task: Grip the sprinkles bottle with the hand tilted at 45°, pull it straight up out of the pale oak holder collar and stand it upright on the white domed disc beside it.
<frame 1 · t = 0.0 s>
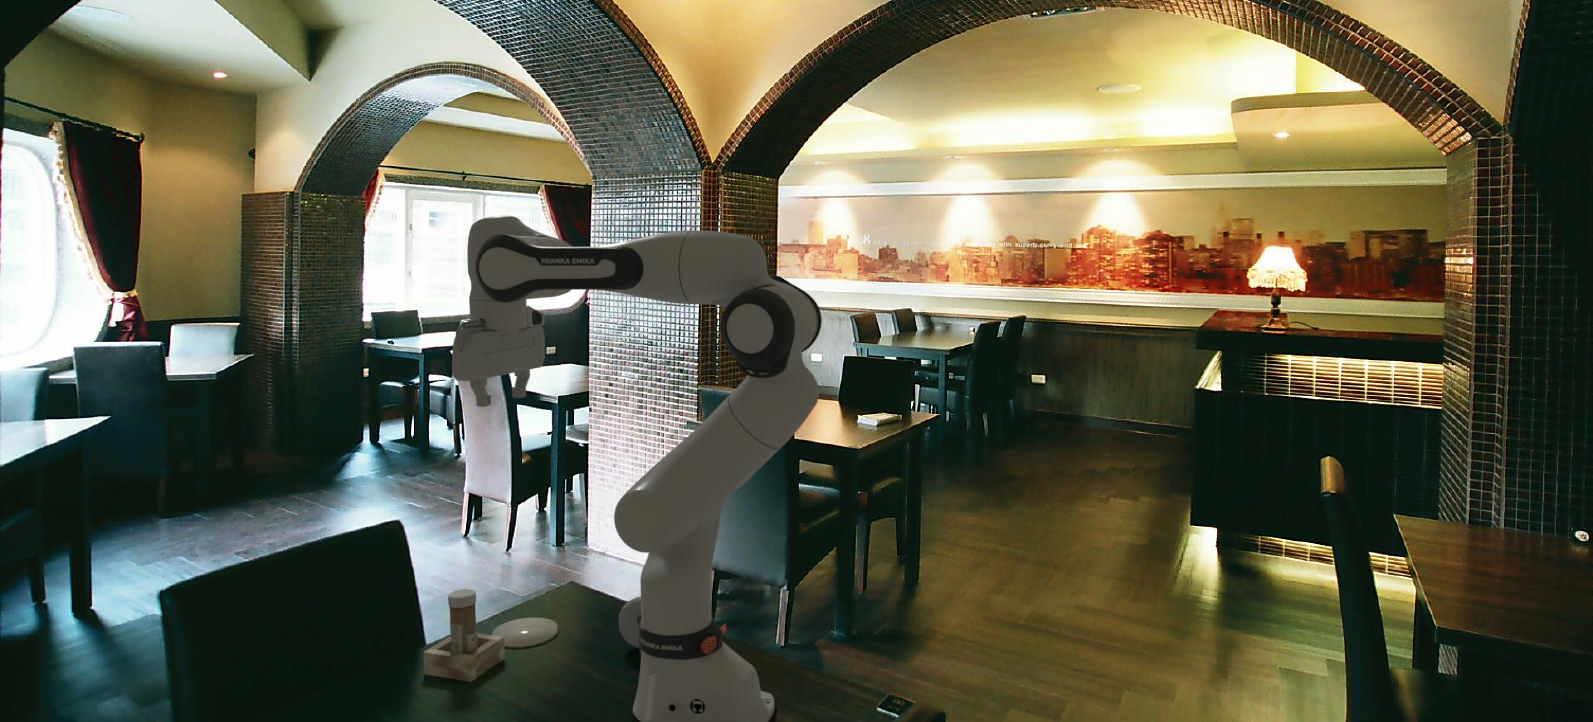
hand: (502, 401, 149), 48 cm above the table, tool pointing down, fingers open, 8 cm apart
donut: (645, 649, 167), on the table
white domed disc: (525, 634, 174), on the table
sprinkles bottle: (465, 667, 160), resting in holder collar
holder collar: (465, 666, 160), on the table
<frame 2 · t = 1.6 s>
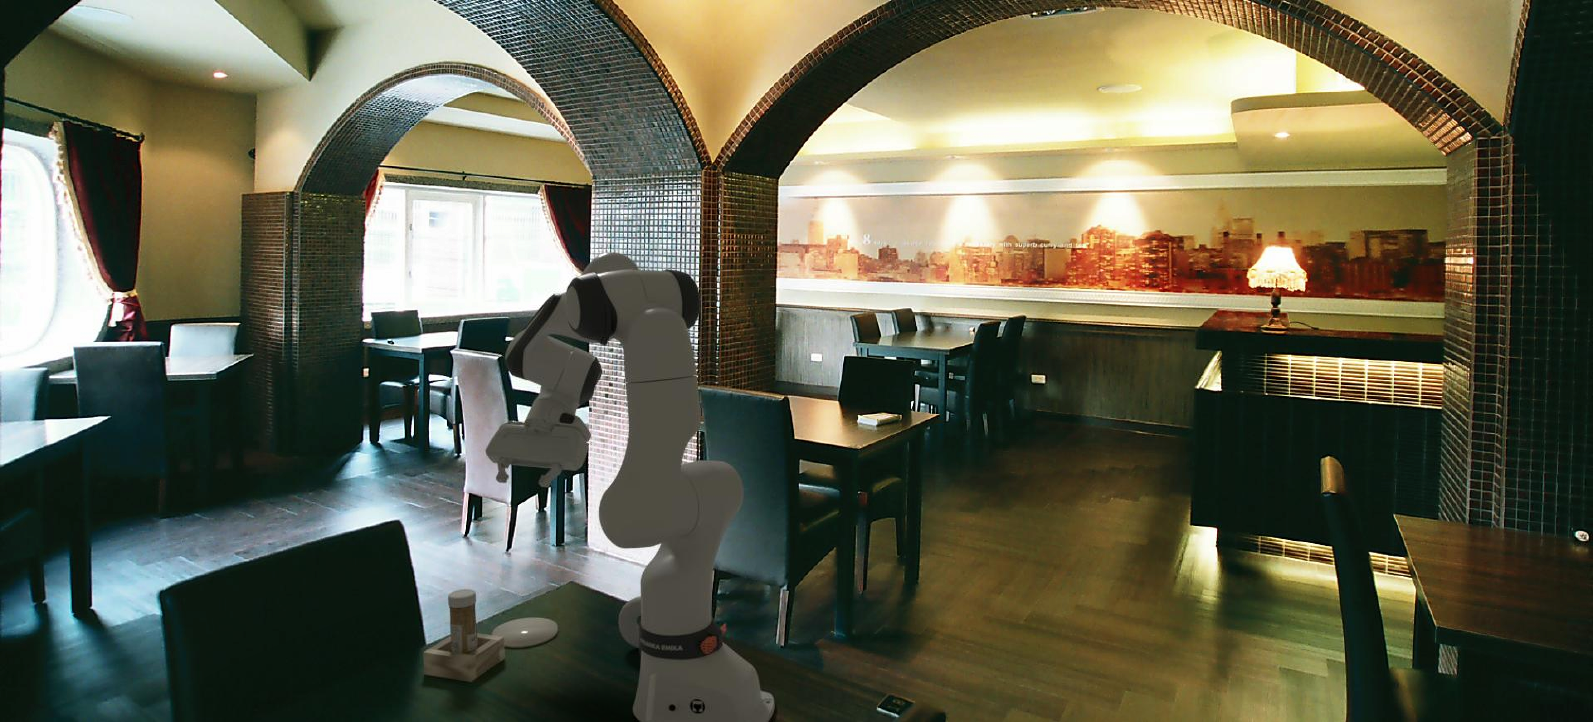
hand: (521, 483, 175), 28 cm above the table, tool tilted 45°, fingers open, 8 cm apart
nothing on the table moved.
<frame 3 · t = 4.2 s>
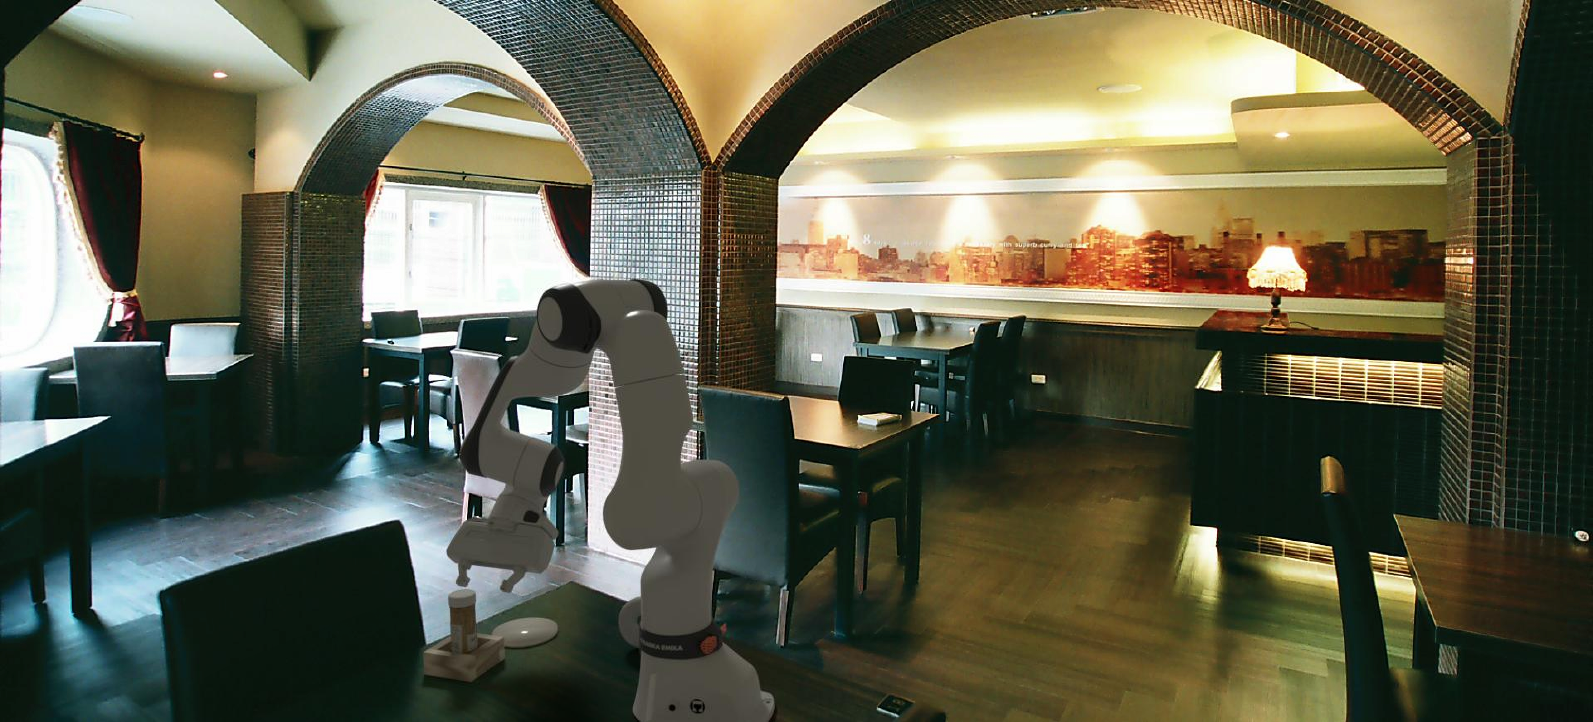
hand: (482, 588, 164), 12 cm above the table, tool tilted 45°, fingers open, 8 cm apart
nothing on the table moved.
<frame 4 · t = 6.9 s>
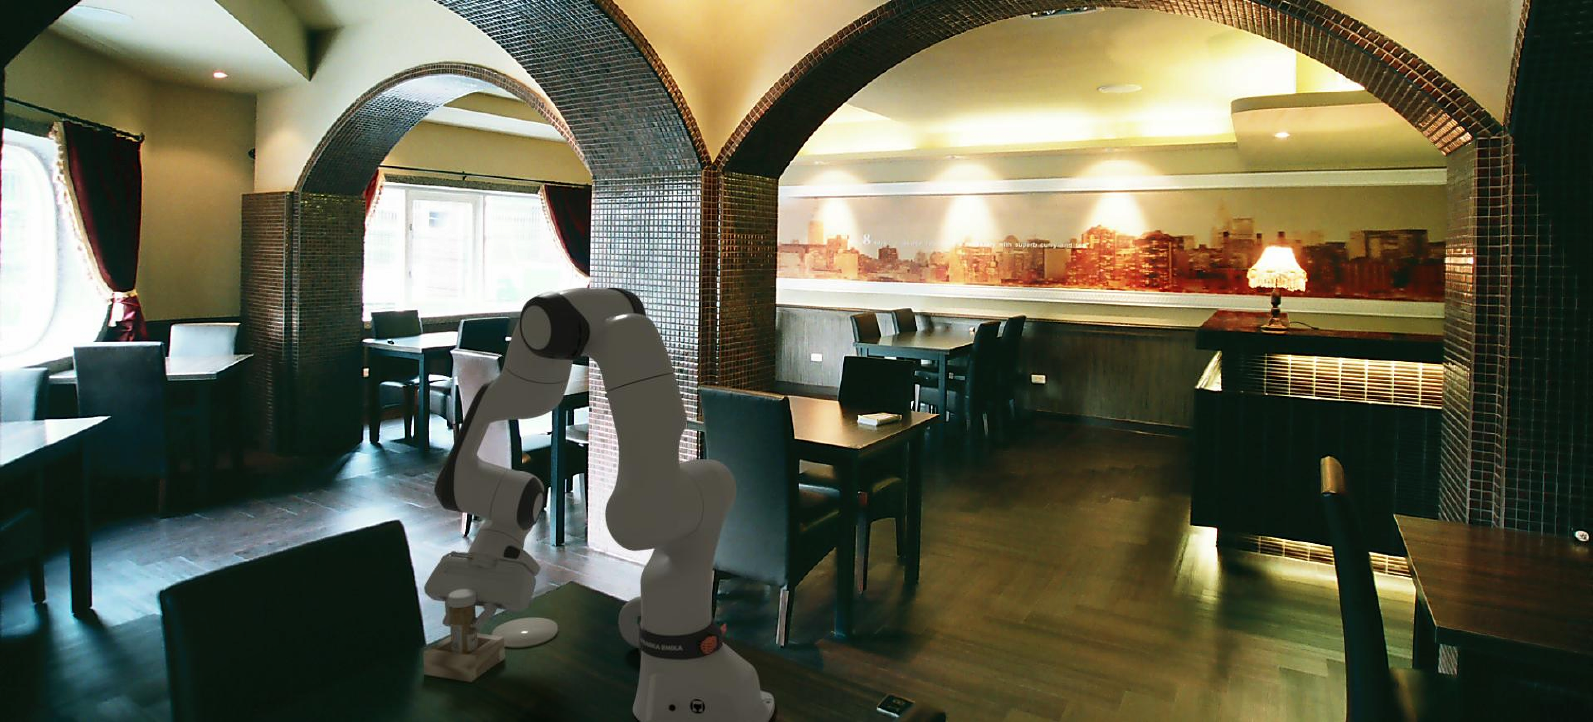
hand: (461, 627, 159), 7 cm above the table, tool tilted 45°, fingers closed on sprinkles bottle, 4 cm apart
sprinkles bottle: (465, 667, 160), resting in holder collar, touching gripper
everything else where it was.
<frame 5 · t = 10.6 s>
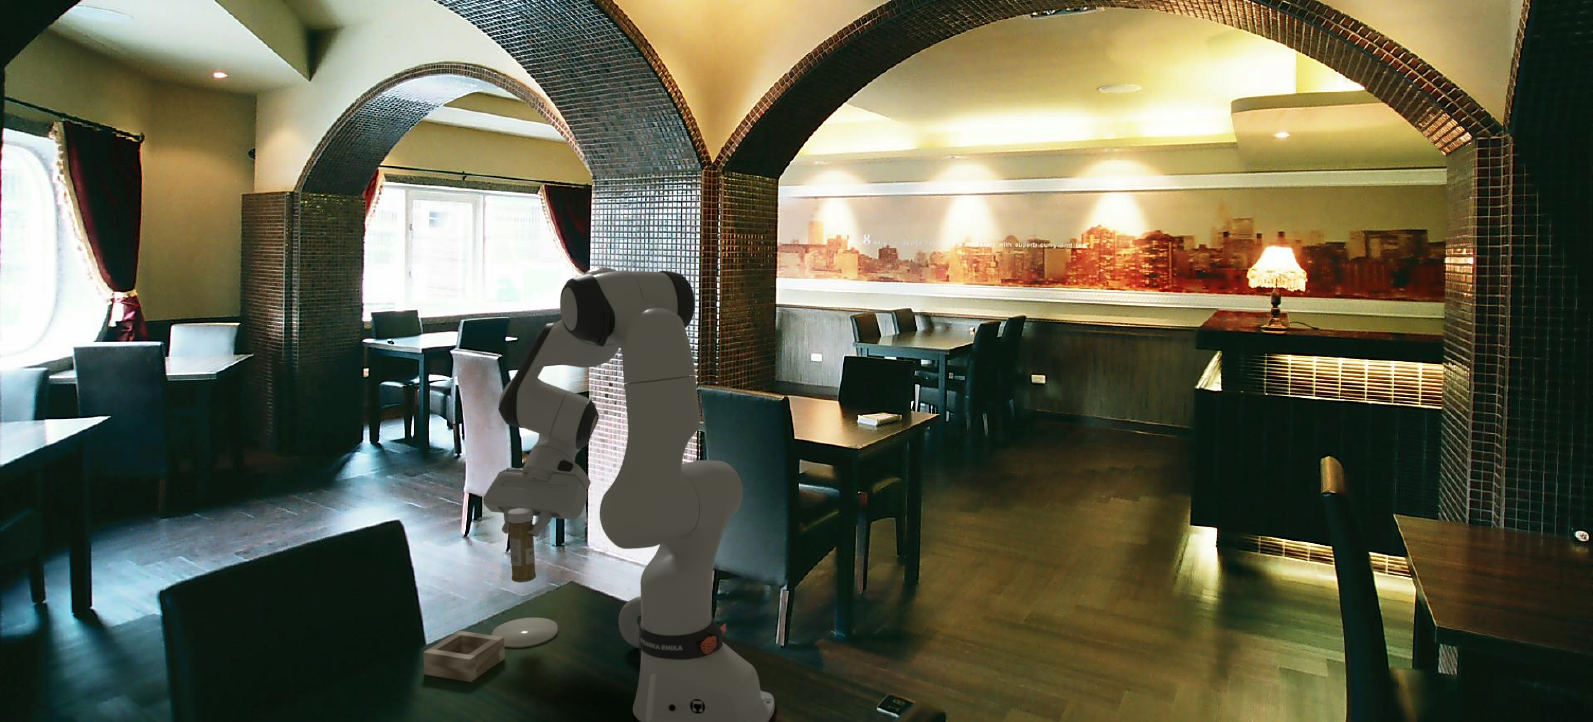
hand: (519, 533, 171), 20 cm above the table, tool tilted 45°, fingers closed on sprinkles bottle, 4 cm apart
sprinkles bottle: (523, 580, 173), point 11 cm above the table, touching gripper
everything else where it was.
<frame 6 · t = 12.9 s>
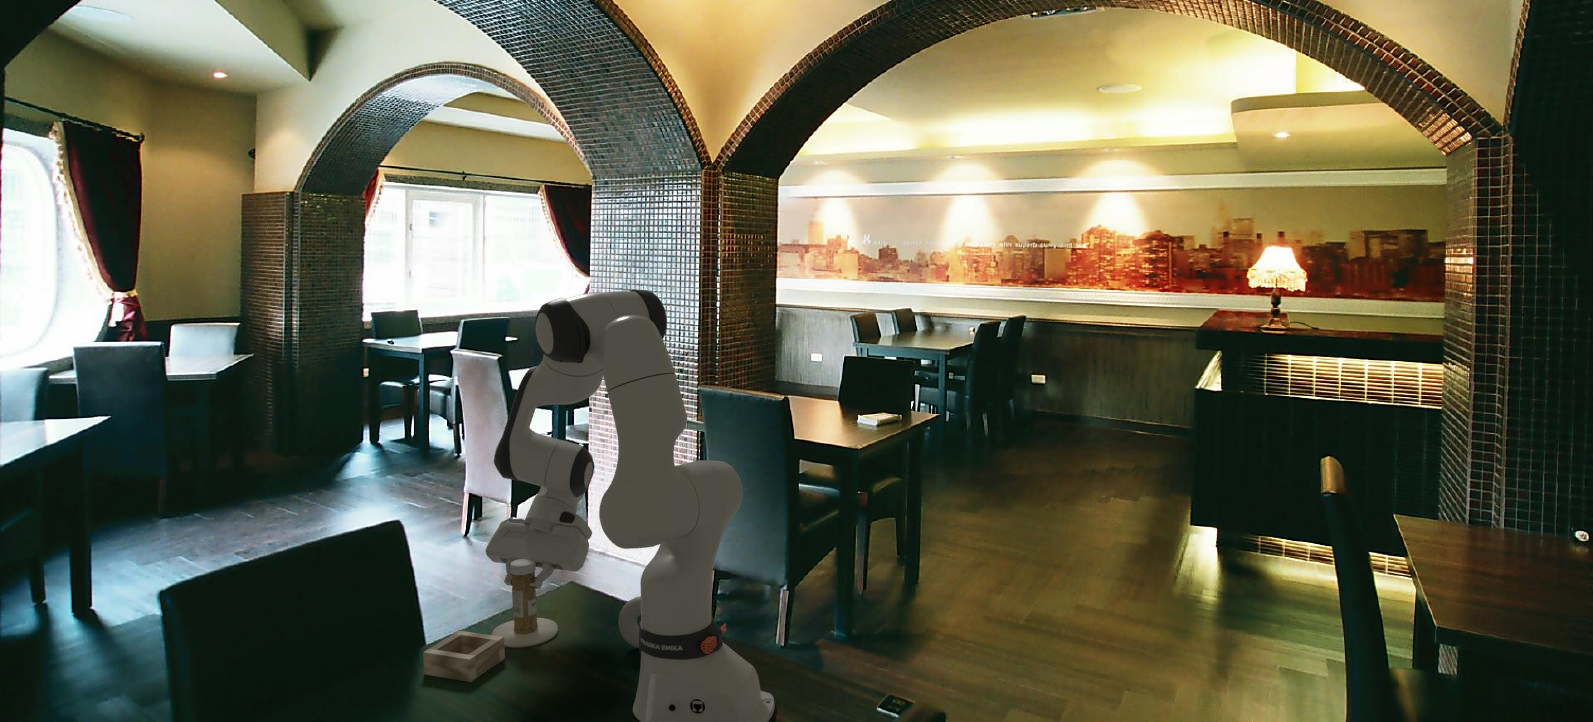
hand: (521, 586, 172), 10 cm above the table, tool tilted 45°, fingers closed on sprinkles bottle, 4 cm apart
sprinkles bottle: (525, 630, 174), point 1 cm above the table, touching white domed disc, gripper
everything else where it was.
when the fingers open (10 cm above the table, at t = 13.5 s): sprinkles bottle stays where it is, resting on white domed disc.
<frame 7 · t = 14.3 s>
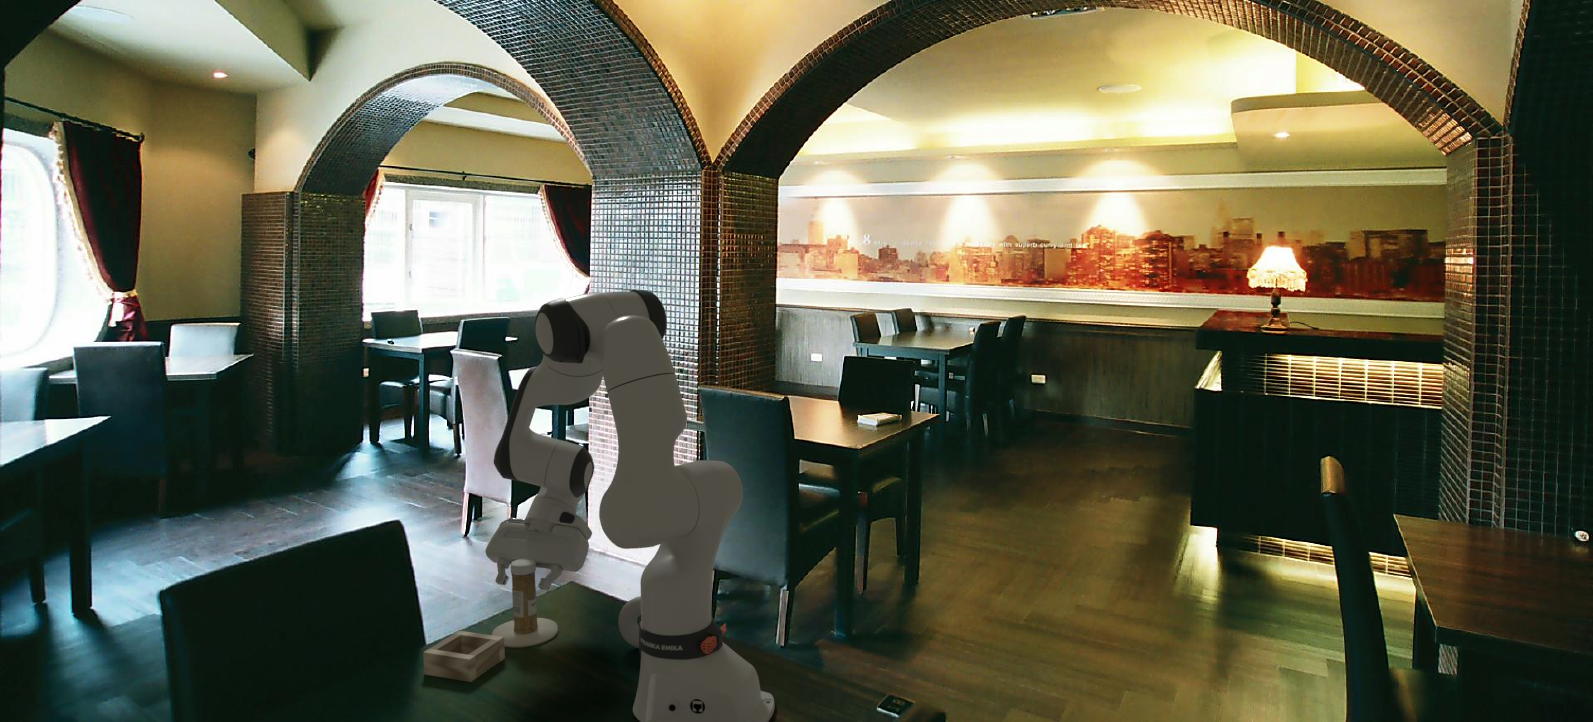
hand: (521, 586, 172), 10 cm above the table, tool tilted 45°, fingers open, 8 cm apart
sprinkles bottle: (525, 630, 174), point 1 cm above the table, touching white domed disc
everything else where it was.
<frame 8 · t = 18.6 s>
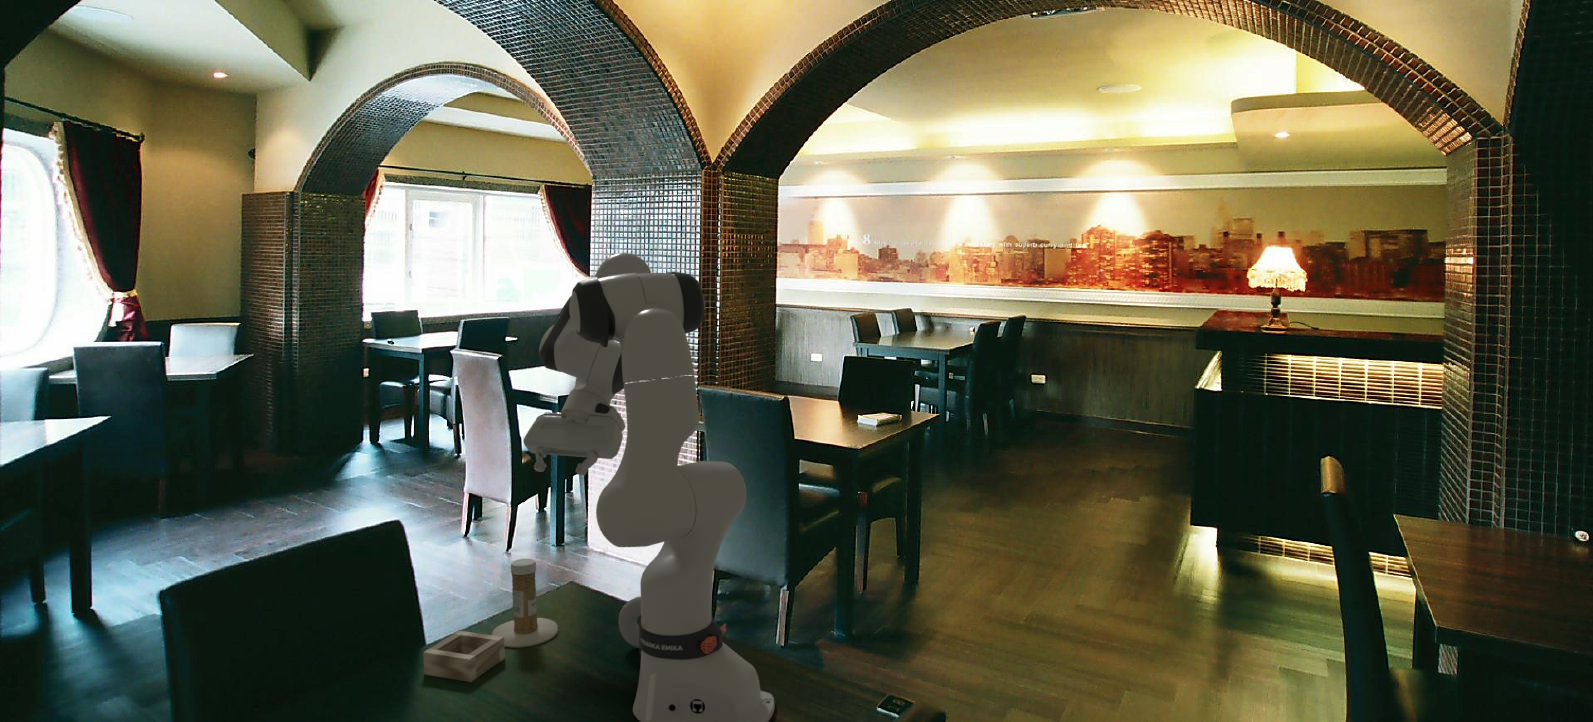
hand: (559, 471, 180), 29 cm above the table, tool tilted 45°, fingers open, 8 cm apart
nothing on the table moved.
at the end: sprinkles bottle inside the target area (0.1 cm from its centre), point 0.6 cm above the table; sprinkles bottle tilted 0°; the gripper is holding nothing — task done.
